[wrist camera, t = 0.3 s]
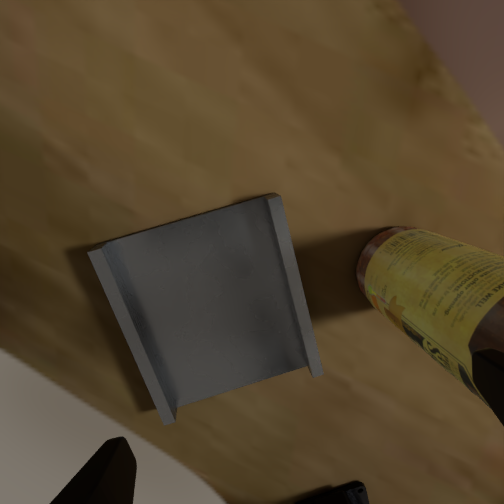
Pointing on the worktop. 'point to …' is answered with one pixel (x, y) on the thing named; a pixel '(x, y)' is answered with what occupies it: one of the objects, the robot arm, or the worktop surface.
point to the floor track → (210, 302)
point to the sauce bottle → (437, 294)
